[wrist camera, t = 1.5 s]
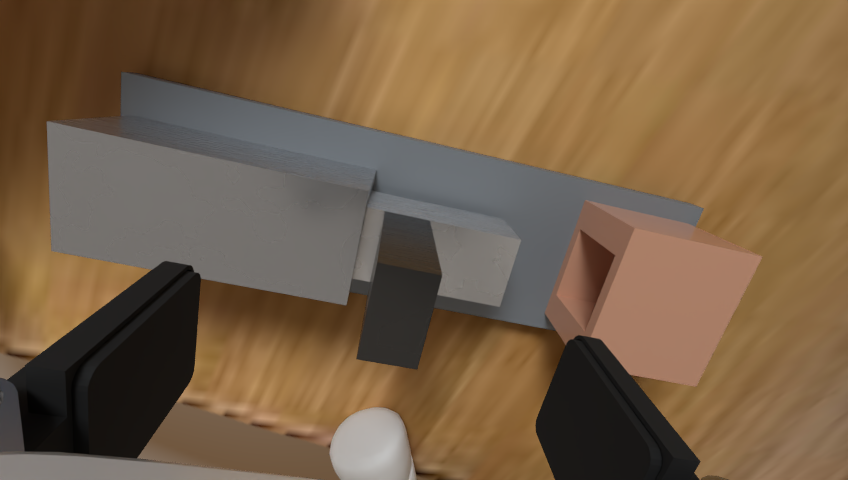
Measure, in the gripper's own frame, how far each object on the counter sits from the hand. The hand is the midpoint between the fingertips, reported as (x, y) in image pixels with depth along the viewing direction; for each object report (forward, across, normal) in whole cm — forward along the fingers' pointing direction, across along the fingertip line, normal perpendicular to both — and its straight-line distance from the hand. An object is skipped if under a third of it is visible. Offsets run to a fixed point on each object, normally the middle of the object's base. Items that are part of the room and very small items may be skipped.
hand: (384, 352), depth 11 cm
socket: (+13, -13, +1) cm, 18 cm away
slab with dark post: (+12, +2, +1) cm, 12 cm away
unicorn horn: (+14, -6, +24) cm, 28 cm away
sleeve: (+13, +7, +1) cm, 15 cm away
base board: (+14, -2, +1) cm, 14 cm away
